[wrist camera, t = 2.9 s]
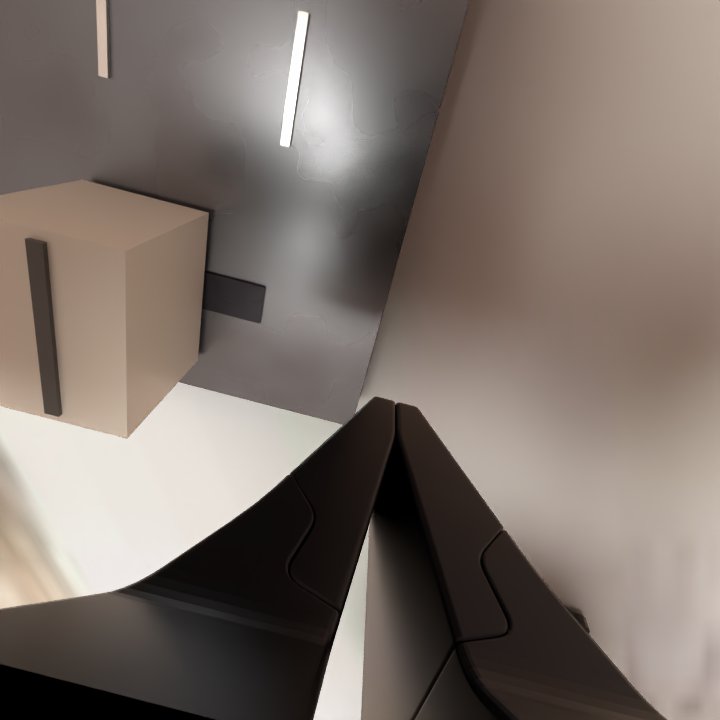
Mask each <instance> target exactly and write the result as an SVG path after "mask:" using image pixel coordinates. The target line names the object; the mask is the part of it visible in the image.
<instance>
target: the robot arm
mask: <svg viewBox="0 0 720 720" xmlns="http://www.w3.org/2000/svg"><path fill="white" fill-rule="evenodd" d="M369 523H370V527H369V549H368V572H367V595H366V618H365V641H364V663H363V686H362V709H361V720H667V719H666V718H664V717H663V716H662V715H661V714H660V713H659V712H658V711H657V710H655V709H654V708H653V707H652V706H651V705H650V704H649V703H648V702H647V701H646V700H645V699H644V698H643V697H642V695H641V694H640V693H639V692H638V691H637V690H636V689H635V688H634V687H633V686H632V684H631V683H630V682H629V681H628V680H627V679H626V677H625V676H624V675H623V674H622V673H621V672H620V670H619V669H618V668H617V667H616V666H615V664H614V663H613V662H612V661H611V660H610V659H609V657H608V656H607V655H606V654H605V653H604V652H603V650H602V649H601V648H600V647H599V646H598V645H597V643H596V642H595V641H594V640H593V639H592V638H591V636H590V635H589V632H590V631H589V628H588V625H587V622H586V619H585V617H584V616H582V615H580V614H577V613H573V612H569V611H568V610H567V608H566V607H565V606H564V605H563V604H562V602H561V601H560V600H559V599H558V598H557V596H556V595H555V594H554V593H553V592H552V590H551V589H550V588H549V587H548V585H547V584H546V583H545V582H544V581H543V579H542V578H541V577H540V576H539V574H538V573H537V572H536V570H535V569H534V568H533V567H532V565H531V564H530V563H529V561H528V560H527V559H526V557H525V556H524V555H523V553H522V552H521V551H520V549H519V548H518V547H517V545H516V544H515V542H514V541H513V540H512V538H511V537H510V535H509V534H508V533H507V531H505V530H503V526H502V525H501V523H500V522H499V520H498V519H497V518H496V516H495V515H494V513H493V512H492V511H491V509H490V508H489V506H488V505H487V504H486V502H485V501H484V500H483V498H482V497H481V495H480V494H479V493H478V491H477V490H476V488H475V487H474V486H473V484H472V483H471V481H470V480H469V479H468V477H467V476H466V474H465V473H464V472H463V470H462V469H461V467H460V466H459V465H458V463H457V462H456V461H455V459H454V458H453V456H452V455H451V454H450V452H449V451H448V449H447V448H446V447H445V445H444V444H443V442H442V441H441V440H440V438H439V437H438V435H437V434H436V433H435V431H434V430H433V428H432V427H431V426H430V424H429V423H428V421H427V420H426V419H425V417H424V416H423V415H422V413H421V412H420V410H419V409H418V408H417V407H415V406H411V405H407V404H404V403H397V404H396V405H395V402H394V401H392V400H388V399H384V398H380V397H374V398H372V399H371V400H370V401H369V402H368V403H367V404H366V405H365V406H364V407H363V408H361V409H360V410H359V411H358V412H357V413H356V414H355V415H354V416H353V417H352V418H350V419H349V420H348V421H347V422H346V423H345V424H344V425H343V426H342V427H341V428H339V429H338V430H337V431H336V432H335V433H334V434H333V435H332V436H331V437H330V438H329V439H327V440H326V441H325V442H324V443H323V444H322V445H321V446H320V447H319V448H318V449H316V450H315V451H314V452H313V453H312V454H311V455H310V456H309V457H308V458H307V459H305V460H304V461H303V462H302V463H301V464H300V465H299V466H298V467H297V468H296V469H294V470H293V471H292V472H291V473H290V475H288V476H286V477H285V478H284V479H283V480H282V481H281V482H280V483H279V484H278V485H277V486H276V487H274V488H273V489H272V490H271V491H270V492H268V493H267V494H266V495H265V496H264V497H262V498H261V499H260V500H259V501H258V502H256V503H255V504H254V505H253V506H251V507H250V508H248V509H247V510H246V511H244V512H243V513H241V514H240V515H239V516H237V517H236V518H234V519H233V520H232V521H230V522H229V523H227V524H226V525H224V526H223V527H221V528H220V529H218V530H217V531H215V532H214V533H212V534H211V535H209V536H208V537H206V538H205V539H204V540H202V541H201V542H199V543H198V544H196V545H195V546H193V547H192V548H190V549H189V550H187V551H186V552H184V553H183V554H181V555H180V556H178V557H177V558H175V559H174V560H172V561H171V562H169V563H168V564H166V565H165V566H163V567H162V568H160V569H159V570H157V571H156V572H154V573H153V574H151V575H149V576H147V577H145V578H143V579H142V580H140V581H138V582H136V583H133V584H131V585H129V586H126V587H124V588H121V589H118V590H115V591H112V592H107V593H101V594H95V595H88V596H81V597H75V598H68V599H62V600H55V601H49V602H42V603H35V604H29V605H22V606H16V607H9V608H3V609H0V720H313V718H314V714H315V710H316V706H317V703H318V699H319V695H320V691H321V687H322V683H323V679H324V675H325V671H326V667H327V663H328V660H329V656H330V652H331V649H332V645H333V642H334V639H335V635H336V632H337V629H338V625H339V622H340V618H341V615H342V612H343V609H344V605H345V602H346V599H347V596H348V592H349V589H350V586H351V582H352V579H353V576H354V573H355V569H356V566H357V563H358V559H359V556H360V553H361V550H362V546H363V543H364V540H365V536H366V533H367V530H368V526H369Z"/></svg>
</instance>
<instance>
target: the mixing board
mask: <svg viewBox="0 0 720 720" xmlns="http://www.w3.org/2000/svg"><path fill="white" fill-rule="evenodd" d="M468 3H469V0H0V195H3V194H8V193H14V192H19V191H24V190H30V189H35V188H40V187H46V186H51V185H57V184H62V183H67V182H73V181H78V180H86V181H89V182H93V183H97V184H101V185H105V186H109V187H112V188H116V189H120V190H124V191H128V192H131V193H135V194H139V195H143V196H147V197H151V198H154V199H158V200H162V201H166V202H170V203H173V204H177V205H181V206H185V207H189V208H193V209H196V210H200V211H204V212H208V213H209V218H208V231H207V245H206V258H205V272H204V285H203V298H202V312H201V325H200V339H199V352H198V361H197V362H196V363H195V364H194V365H193V366H192V367H191V369H190V370H189V371H188V372H187V373H186V374H185V375H184V376H183V377H182V378H181V380H180V381H179V382H181V383H185V384H188V385H192V386H196V387H200V388H204V389H208V390H212V391H216V392H219V393H223V394H227V395H231V396H235V397H239V398H243V399H247V400H250V401H254V402H258V403H262V404H266V405H270V406H274V407H277V408H281V409H285V410H289V411H293V412H297V413H301V414H305V415H308V416H312V417H316V418H320V419H324V420H328V421H332V422H336V423H339V424H343V425H344V424H345V423H346V422H347V421H348V420H349V419H350V418H352V417H353V416H354V415H355V412H356V408H357V405H358V401H359V397H360V394H361V390H362V387H363V383H364V379H365V376H366V372H367V369H368V365H369V361H370V358H371V354H372V350H373V347H374V343H375V340H376V336H377V332H378V329H379V325H380V322H381V318H382V314H383V311H384V307H385V303H386V300H387V296H388V293H389V289H390V285H391V282H392V278H393V275H394V271H395V267H396V264H397V260H398V257H399V253H400V249H401V246H402V242H403V238H404V235H405V231H406V228H407V224H408V220H409V217H410V213H411V210H412V206H413V202H414V199H415V195H416V191H417V188H418V184H419V181H420V177H421V173H422V170H423V166H424V163H425V159H426V155H427V152H428V148H429V144H430V141H431V137H432V134H433V130H434V126H435V123H436V119H437V116H438V112H439V108H440V105H441V101H442V97H443V94H444V90H445V87H446V83H447V79H448V76H449V72H450V69H451V65H452V61H453V58H454V54H455V50H456V47H457V43H458V40H459V36H460V32H461V29H462V25H463V22H464V18H465V14H466V11H467V7H468Z"/></svg>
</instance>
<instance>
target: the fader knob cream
mask: <svg viewBox="0 0 720 720" xmlns="http://www.w3.org/2000/svg"><path fill="white" fill-rule="evenodd" d="M208 218H209V213H208V212H204V211H200V210H196V209H193V208H189V207H185V206H181V205H177V204H173V203H170V202H166V201H162V200H158V199H154V198H151V197H147V196H143V195H139V194H135V193H131V192H128V191H124V190H120V189H116V188H112V187H109V186H105V185H101V184H97V183H93V182H89V181H86V180H78V181H73V182H67V183H62V184H57V185H51V186H46V187H40V188H35V189H30V190H24V191H19V192H14V193H8V194H3V195H0V406H3V407H6V408H10V409H14V410H18V411H22V412H26V413H30V414H34V415H38V416H41V417H45V418H49V419H53V420H57V421H61V422H65V423H69V424H73V425H76V426H80V427H84V428H88V429H92V430H96V431H100V432H104V433H108V434H111V435H115V436H119V437H123V438H128V437H129V436H130V435H131V434H132V432H133V431H134V430H135V429H136V428H137V427H138V426H139V425H140V424H141V423H142V421H143V420H144V419H145V418H146V417H147V416H148V415H149V414H150V413H151V412H152V410H153V409H154V408H155V407H156V406H157V405H158V404H159V403H160V402H161V401H162V399H163V398H164V397H165V396H166V395H167V394H168V393H169V392H170V391H171V389H172V388H173V387H174V386H175V385H176V384H177V383H178V382H179V381H180V380H181V378H182V377H183V376H184V375H185V374H186V373H187V372H188V371H189V370H190V369H191V367H192V366H193V365H194V364H195V363H196V362H197V361H198V352H199V339H200V325H201V312H202V298H203V285H204V272H205V258H206V245H207V231H208Z"/></svg>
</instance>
